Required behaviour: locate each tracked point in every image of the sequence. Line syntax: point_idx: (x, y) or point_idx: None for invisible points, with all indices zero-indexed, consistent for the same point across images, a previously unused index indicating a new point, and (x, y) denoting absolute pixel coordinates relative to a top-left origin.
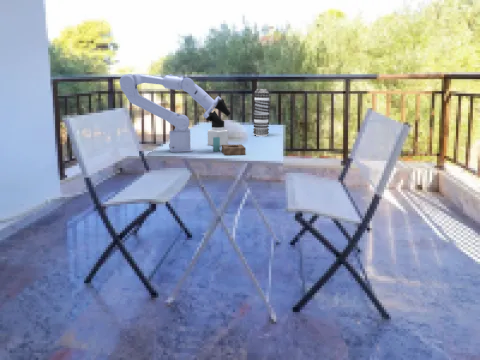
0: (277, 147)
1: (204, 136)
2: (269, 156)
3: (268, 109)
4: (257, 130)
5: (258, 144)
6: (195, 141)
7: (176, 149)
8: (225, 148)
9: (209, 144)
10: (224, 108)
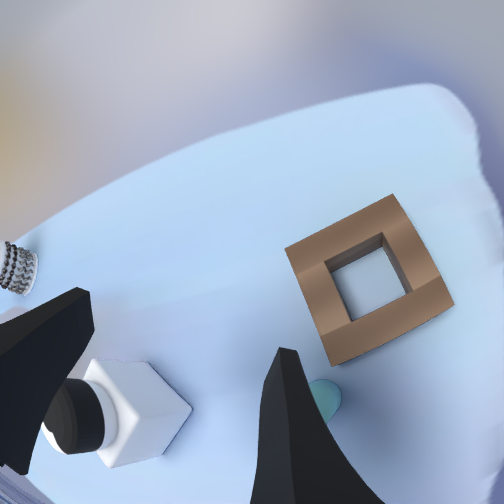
0: (184, 154)
1: (46, 443)
2: (382, 116)
3: None
4: (21, 275)
5: (131, 236)
6: (112, 490)
7: None
8: (452, 301)
9: (165, 448)
10: (30, 354)
